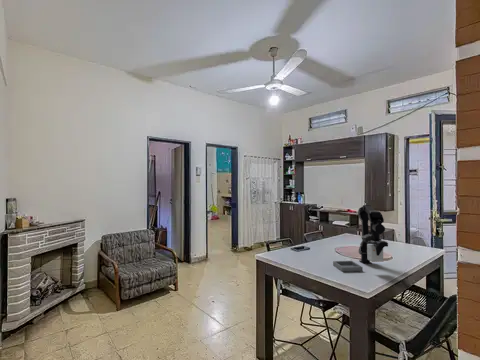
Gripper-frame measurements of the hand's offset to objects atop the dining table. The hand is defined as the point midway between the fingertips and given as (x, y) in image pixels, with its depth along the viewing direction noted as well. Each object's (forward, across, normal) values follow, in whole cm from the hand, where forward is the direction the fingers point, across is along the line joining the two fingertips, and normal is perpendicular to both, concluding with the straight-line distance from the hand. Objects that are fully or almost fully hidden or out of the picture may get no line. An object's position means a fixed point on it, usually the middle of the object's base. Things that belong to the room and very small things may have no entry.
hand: (375, 254), depth 171 cm
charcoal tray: (+12, -10, -14) cm, 21 cm away
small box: (+4, 0, 0) cm, 4 cm away
